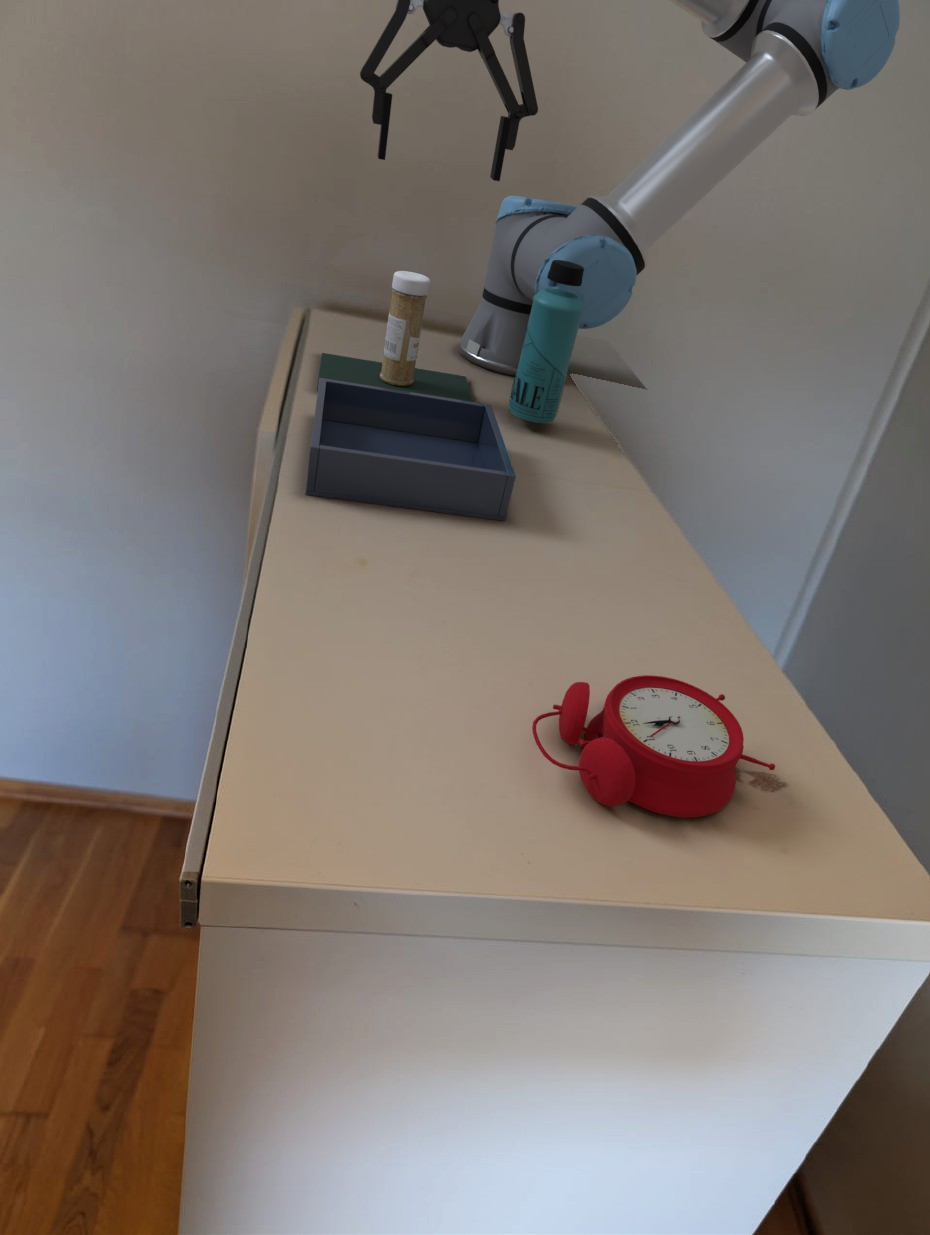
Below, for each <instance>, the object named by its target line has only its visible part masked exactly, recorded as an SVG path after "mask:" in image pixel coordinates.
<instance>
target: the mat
mask: <svg viewBox="0 0 930 1235" xmlns="http://www.w3.org/2000/svg"><path fill="white" fill-rule="evenodd" d="M382 363H383V362H380V361H374V360H369V359H364V358H363V359H362V358H357V357H350V356H344V355H340V354H339V355H338V354H334V353H333V354H332V353H326V352H321V358H320V364H319V365H320V366H319V372H318V380H317V388H316V393H318V385H319V378H324V379H331V380H337V381H343V382H350V383H356V384H362V385H369V386H375V387H381V388H387V389H394V390H400V391H406V392H412V393H419V394H425V395H431V396H438V397H444V398H450V399H456V400H463V401H469V402H474V399H473V396H472V393H471V389H470V386H469V383H468V379H467V376H466V375H461V374H460V375H459V374H453V373H447V372H443V371H442V372H441V371H435V370H430V369H425V368H418V367H417V368H416V367H415V370H414V376H413V378H414V382H413V383H412V385H409V386H395V385H391V384H388V383H386V382H384V381H383V380H382V379H381V378H380V373H381V371H382V365H383V364H382Z"/></svg>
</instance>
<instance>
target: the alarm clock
mask: <svg viewBox="0 0 930 1235" xmlns="http://www.w3.org/2000/svg"><path fill="white" fill-rule="evenodd" d="M590 695H591V690H590V684H589V682H585V681H577V682H574V683H572V684H571V685H570V686H569V687H568V688H567V690H566V692H565V693H564V696H563V699H562V702H561V705H559V704H553V705H552V708H553V710H557V711H550V712H546V713H542V714H540V715H539V716H537V717H536V718H535V719H534V720H533V722H532V726H531V730H532V736H533V738H534V741H535V744H536V746H537V747H538V749H539V751H540V752H541V754H542V755H543V757H545V759H546V760H548V761H549V762H550V763H551V764H553V765H554V766H557V767H558V768H561V769H564V770H569V771H578V772H579V776H580V780H581V782H582V785H583V787H584V789H585V790H586V791H587V793H588V794H589V795H590V796H591V797H592V798H593V799H594V800H595V801H596V802H597V803H600V804H602V805H605V806H607V807H617V806H620V805H624V804H626V803H627V802H628V801H629V802H630V803H632V804H635V805H636V806H638V807H640V808H642V809H644V810H645V809H646V810H647V811H650V812H654V813H658V814H660V815H664V816H670V817H675V818H676V817H677V818H698V817H705V816H709V815H711V814H715V813H716V812H719V811H721V809H723V808H724V807H725V806H726V805H728V803H729V802H730V800H731V799H732V797H733V795H734V793H735V791H736V787H737V773H736V766H737V764H738V762H739V760H742V761H743V760H744V761H746V762H750V763H752V764H756V765H759V766H762V767H766V768H768V769H769V771H775V769H776V765H775V763H772V762H771V763H767V762H764V761H761V760H758V759H757V758H755V757H752V756H749V755H746V754H743V752H744V740H745V737H744V733H743V729H742V726H741V725H740V723H739V721H738V719H737V717H736V716H735V715H734V714H733V713H732V711H731V710H730V709H729V708H728V707H727V706H726V705H724V704H723V702H721V701H725V700H726V695H725V694H723V693H721V694H719V695H718V696H717V697H716V698H715V697H714V696H713V695H712V694H710V693H708V692H707V691H704V690H703V689H701V688H699V687H697V686H695V685H692V684H691V683H689V682H685V681H683V680H679V679H676V678H673V677H672V678H671V677H667V676H661V675H647V674H644V675H636V676H635V675H634V676H631V677H627V678H626V679H622V680H621V681H620V682H618V683H616V685H615V686H614V687H613V688H612V689H611V690H610V691H609V692H608V694H607V696H606V699H605V701H604V705H603V709H602V710H601V711H600V712H599V713H598V714H596V715H594V717H592V719H591V720H590V721H589V722H588V724H587V726H586V727H585V725H586V720H587V716H588V711H589V704H590V697H591V696H590ZM555 716H558V731H559V736H560V738H561V740H563V742H564V743H567V744H569V745H571V746H574V747H576V746H577V745H578V744H579V745H580V747H581V748H583V749H582V751H581V753H580V756H579V758H578V759H579V760H578V765H570V764H565V763H562V762H559V761H557V760H556V759H554V758H552V756H551V755H550V754H549V753H548V752H547V751H546V749H545V747H544V746H543V745H542V742H541V740H540V738H539V736H538V732H537V725H538V723H539V722H540V721H541V720H543V719H545V718H548V717H549V718H550V717H555ZM583 732H584V734H583ZM582 735H583V738H581V737H582Z"/></svg>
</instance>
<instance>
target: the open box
mask: <svg viewBox="0 0 930 1235" xmlns="http://www.w3.org/2000/svg"><path fill="white" fill-rule="evenodd" d="M318 379H319V385H318V384H317V387H318V392H316V394H317V395H316V401H315V410H314V415H313V425H312V433H311V439H310V447H309V457H308V466H307V476H306V483H305V484H306V486H305V495H307V496H313V497H314V496H316V497H322V498H328V499H336V500H343V501H344V500H345V501H352V502H360V503H367V504H374V505H381V506H388V507H389V506H390V507H397V508H404V509H411V510H419V511H426V512H433V513H434V512H435V513H440V514H441V513H442V514H448V515H456V516H464V517H471V518H479V519H486V520H494V521H499V522H500V521H501V522H505V521H506V519H507V518H506V517H507V514H508V510H509V506H510V502H511V498H512V494H513V490H514V486H515V483H516V477H517V476H516V473H515V470H514V467H513V464H512V461H511V458H510V454H509V452H508V449H507V447H506V444H505V441H504V438H503V436H502V433H501V430H500V427H499V423H498V421H497V418H496V415H495V412H494V410H493V407H492V404H488V403H487V404H486V403H481V402H475V401H473V402H469V401H463V400H456V399H450V398H444V397H438V396H431V395H425V394H419V393H412V392H406V391H400V390H394V389H387V388H381V387H375V386H369V385H362V384H356V383H350V382H343V381H337V380H331V379H324V378H319V377H318Z"/></svg>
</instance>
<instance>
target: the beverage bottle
mask: <svg viewBox="0 0 930 1235" xmlns="http://www.w3.org/2000/svg"><path fill="white" fill-rule="evenodd" d="M583 273H584V268H583V267H582V266H580V265H578V264H575V263H572V262H568V261H563V260H553V261H552V263H551V267H550V270H549V272H548V275H547V278H548V279H550V280H552V281H554V282H557V283H560V284H564V285H569V286H581V284H582V278H583ZM583 312H584V306H583V304H582V302H581V300H580V299H579V297H578V296H577V295H576V294H574V293H571V292H568V291H565V290H561V289H555V288H545V289H543V290H541V291H540V292H538V293H537V294H536V295H535V296H534V297H533V305H532V309H531V313H530V314H529V315H530V318H529V321H528V325H527V328H526V329H527V330H525V332H526V333H525V337H523V339H524V340H523V341H524V343H523V341H522V343H523V344H522V345H523V347H522V351H521V350H520V352H521V356H520V358H519V359H520V360H519V359H518V360H519V361H518V362H519V364H518V363H517V366H518V369H517V368H516V369H517V373H516V375H515V376H514V378H513V385H512V386H511V391H510V394H509V399H508V401H507V402H508V406H509V407H508V409H509V412H510V413H511V414H512V415H514V416H516V417H518V418H520V419H521V420H525V421H528V422H532V423H539V424H549V423H552V422H554V420H555V419H556V417H557V415H558V413H559V411H560V410H559V409H560V408H561V406H560V405H561V403H562V396H563V395H564V393H563V392H564V388H565V384H566V380H567V378H568V372H569V367H570V366H569V365H570V362H571V359H572V354H573V350H574V347H575V343H576V339H577V335H578V331H579V329H578V328H579V324H580V321H581V317H582V313H583ZM528 317H529V316H528ZM527 320H528V319H527Z"/></svg>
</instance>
